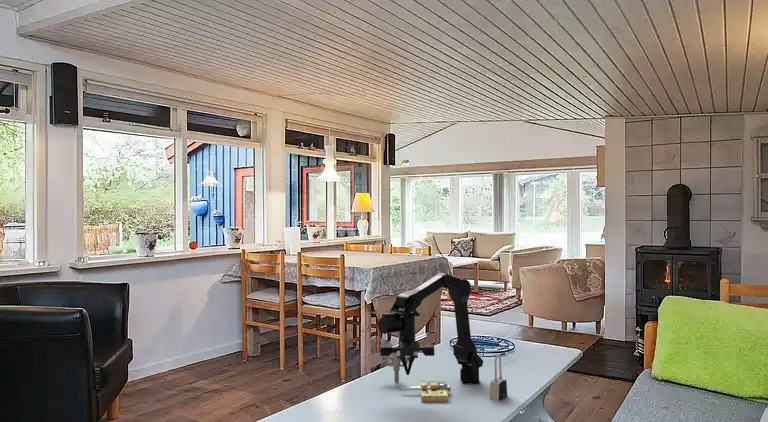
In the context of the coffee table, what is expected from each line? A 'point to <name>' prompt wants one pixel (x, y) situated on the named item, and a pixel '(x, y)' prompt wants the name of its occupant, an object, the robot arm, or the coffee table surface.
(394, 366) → the mechanical component
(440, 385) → the fixed leaf
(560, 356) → the coffee table surface
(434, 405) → the coffee table surface
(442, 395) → the loose leaf
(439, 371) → the coffee table surface
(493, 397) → the padlock
